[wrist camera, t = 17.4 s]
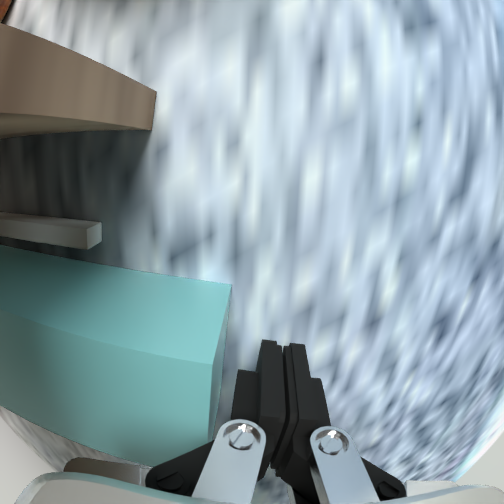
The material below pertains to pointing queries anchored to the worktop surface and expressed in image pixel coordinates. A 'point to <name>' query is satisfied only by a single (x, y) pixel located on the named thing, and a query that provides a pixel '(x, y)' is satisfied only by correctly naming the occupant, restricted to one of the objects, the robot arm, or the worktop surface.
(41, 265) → the teal rectangular block
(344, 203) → the worktop surface
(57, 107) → the overhang shelf
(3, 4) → the sauce bottle
